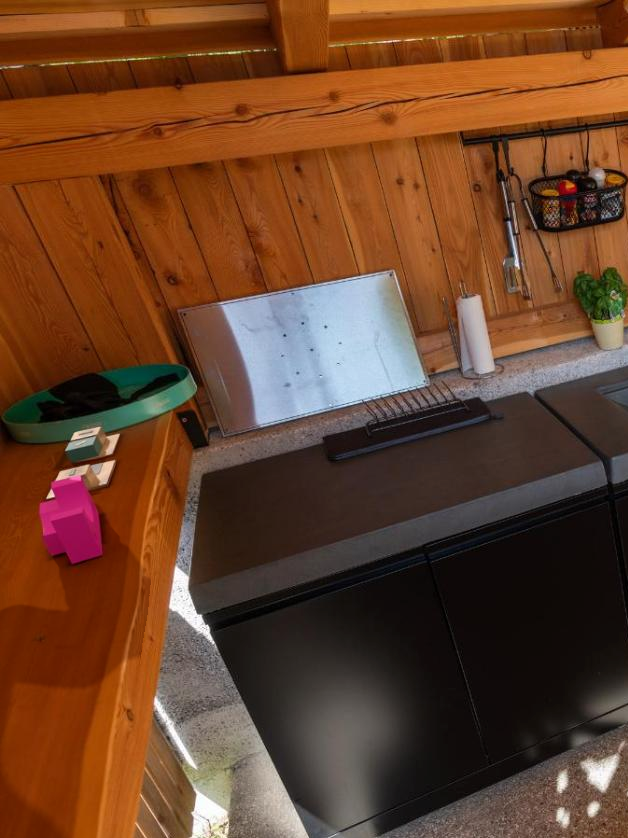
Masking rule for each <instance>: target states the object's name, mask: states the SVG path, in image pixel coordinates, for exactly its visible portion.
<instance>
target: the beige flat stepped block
mask: <svg viewBox="0 0 628 838" xmlns="http://www.w3.org/2000/svg"><path fill="white" fill-rule="evenodd" d="M95 436H97V438H98V440H99V442H100V444H101V446H102V449H101V452H100V454H99V456H96V457H92V458H88V459H84V460H80V461H76V462H73V463H81V462H84V461H91V460H95V459H100V458H105V457H106V458H107V457H110V456H114V454H115V451H116V448H117V445H118V442H119V439H120V436H121V433H116V434H112V435H108V436H107V435H106V433H105V431H104V429H103V428H102V426H96V427H92V428H87V429H84V430H79V431H75V432H74V433H73V435H72V437H71V439H70V442H74V441H78V440H82V439H87V438H91V437H95Z"/></svg>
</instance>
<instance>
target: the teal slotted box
mask: <svg viewBox="0 0 628 838" xmlns="http://www.w3.org/2000/svg"><path fill="white" fill-rule="evenodd" d="M101 449H102V446H101V444H100V442H99V440H98V438H97V436H95V437H91V438H87V439H82V440H78V441H74V442H71V441H69V442H68V443H67V446H66V448H65V450H64V452H65V454H66V456H67V458H68V460H69V462H70V463H74V462H75V463H77V462H76V461H80V460H84V459H88V458H92V457H96V456H99V454H100V452H101Z"/></svg>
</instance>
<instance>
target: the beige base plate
mask: <svg viewBox="0 0 628 838" xmlns="http://www.w3.org/2000/svg"><path fill="white" fill-rule="evenodd" d="M116 465H117V460H116V459H114V460H109V461H105V462H99V463H96V464H92V465H91V464H85V465H80V466H77V467H72V468H68V469H64V470H60V471H59V473H58V475H57V477H56V478H55V480H54V481H58V480H62V479H66V478H70V477H74V476H78V475H81V477H82V479H83V481H84V483H85V485H86V487H87V490H88V492H91V491H94V490H99V489H103V488H106V487H109V485H110V482H111V479H112V476H113V474H114V471H115V467H116ZM53 499H56V498H55V495H54V493H53V491H52V489H51V488H50V490H49V491H48V494H47V496H46V498H45V500H47V501H48V500H53Z"/></svg>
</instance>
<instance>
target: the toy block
mask: <svg viewBox="0 0 628 838" xmlns="http://www.w3.org/2000/svg"><path fill="white" fill-rule="evenodd" d="M51 489H52V491H53V493H54V495H55V498H54V499H50V500H49V501H48V500H47V501H44V502H40V503H39V512H38V514H39V517H40V520H41V525H42V530H43V534H42V536H41V539H42V540H43V543H44V545H45V546H46V548H47V550H48V552H49V554H50V556H51V557H53V556H56V555H60V554H63V553H66V555H67V557H68V559H69V561H70V563H71V565H75V564H76V563H80V562H83V561H87V560H90V559H93V558H97V557H101V556H103V545H102V534H101V523H100V514H99V511H98V509H97V507H96V505H95V503H94V501H93V498H92V496H91V494H90V491H88V490H87V487H86V485H85V483H84V481H83V479H82V477H81V475H78V476H74V477H70V478H66V479H62V480H58V481H55V480H53V481H51V487H50V490H51Z"/></svg>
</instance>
